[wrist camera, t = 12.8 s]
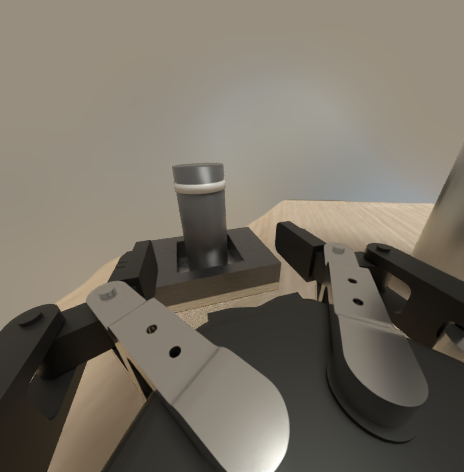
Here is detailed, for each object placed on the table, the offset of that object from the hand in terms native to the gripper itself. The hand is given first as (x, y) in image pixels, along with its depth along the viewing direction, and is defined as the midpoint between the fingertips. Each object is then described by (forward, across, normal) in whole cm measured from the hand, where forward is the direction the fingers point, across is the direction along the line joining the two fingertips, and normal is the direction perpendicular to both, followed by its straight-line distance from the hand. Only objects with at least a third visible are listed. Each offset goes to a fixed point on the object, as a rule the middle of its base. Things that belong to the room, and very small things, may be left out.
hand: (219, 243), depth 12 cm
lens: (+9, 0, +8) cm, 12 cm away
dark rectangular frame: (+9, 0, +9) cm, 13 cm away
